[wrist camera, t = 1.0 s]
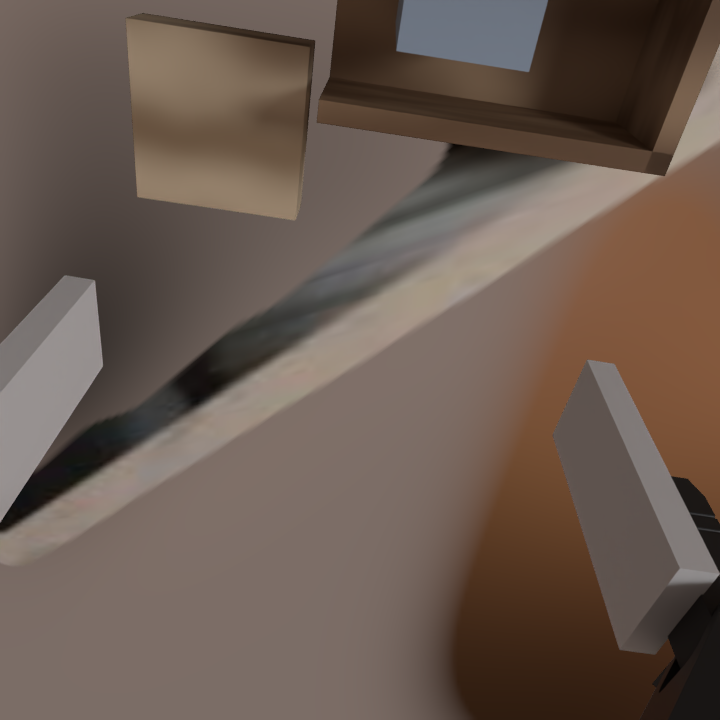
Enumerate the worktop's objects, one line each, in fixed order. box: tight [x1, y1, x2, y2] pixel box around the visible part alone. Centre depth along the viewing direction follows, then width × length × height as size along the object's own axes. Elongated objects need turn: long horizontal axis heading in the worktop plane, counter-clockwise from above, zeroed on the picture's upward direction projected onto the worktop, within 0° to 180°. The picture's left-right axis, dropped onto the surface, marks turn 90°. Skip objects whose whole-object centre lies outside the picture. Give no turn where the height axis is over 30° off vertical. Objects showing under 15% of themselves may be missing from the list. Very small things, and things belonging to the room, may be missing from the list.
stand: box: [126, 13, 315, 220], centre depth 34 cm, size 9×9×2 cm
